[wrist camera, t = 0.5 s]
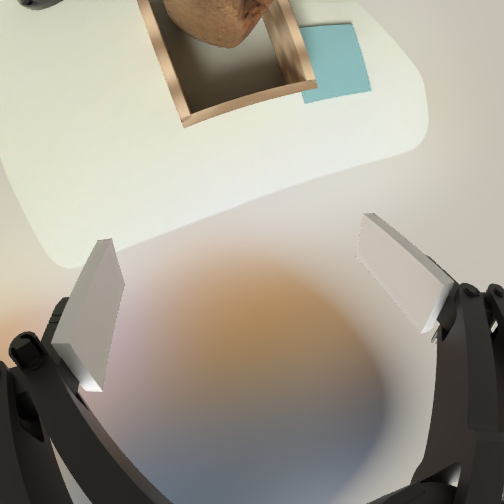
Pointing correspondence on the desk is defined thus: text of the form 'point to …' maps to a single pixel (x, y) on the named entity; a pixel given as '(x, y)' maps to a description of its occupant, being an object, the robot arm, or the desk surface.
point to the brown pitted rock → (217, 19)
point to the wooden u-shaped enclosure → (296, 80)
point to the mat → (334, 62)
